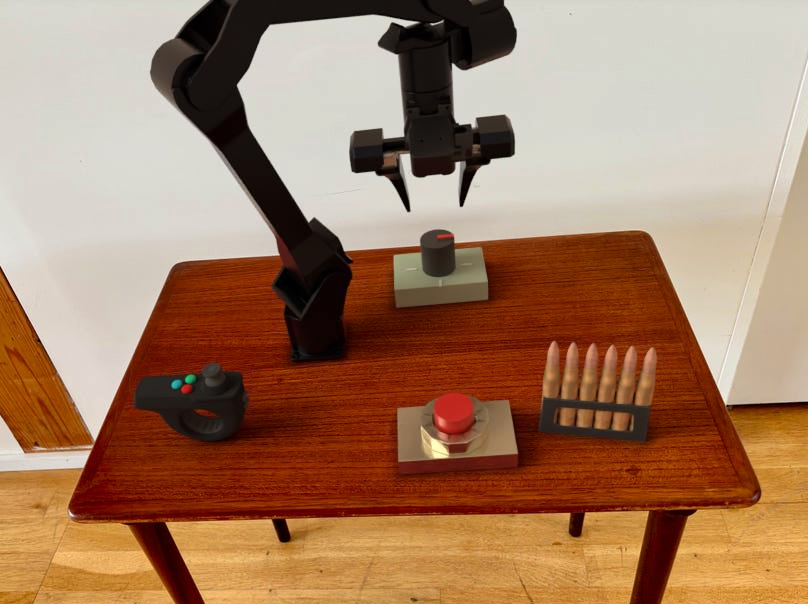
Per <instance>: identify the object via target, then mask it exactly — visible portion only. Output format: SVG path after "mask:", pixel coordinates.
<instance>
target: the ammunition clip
mask: <svg viewBox="0 0 808 604" xmlns="http://www.w3.org/2000/svg"><path fill="white" fill-rule="evenodd" d="M559 349H560V348H559V346H558V343H557V341H556V340H553V341H552V342H551V343H550V345H549V348H548V351H547V355H546V362H545V369H544V371H543V378H542V391H541V392H542V394H541V405H540V406H541V407H540V415H539V423H538V432H541V433H548V434H560V435H568V436H569V435H571V436H581V437H590V438H600V439H601V438H602V439H611V440H612V439H613V440H621V441H623V440H624V441H631V442H632V441H633V442H646V441H647V438H648V437H647V436H648V431H649V423H650V416H651V415H650V414H651V408H652V407H651V406H652V401H653V398H654V397H653V396H654V392H655V386H656V369H657V365H658V364H657V360H658V356H657V351H656V349H655V347H654V346H652V347H650V348H649V349H648V351H647V353H646V355H645V357H644V359H643V364H642V368H641V370H640V373H639V376H638V378H637V376H636V374H637V363H638V354H637V350H636V347H635V346H634V345H631V346H630V347H629V349H627V352H626V354H625V356H624V360H623V362H622V363H623V364H622V367H621V368H622V369H621V370H620V371H621V373H620V374H619V377H618V376H617V372H618V367H617V366H618V351H617V348H616V345H615V344H611V345H610V347H608V350H607V351H606V354H605V357H604V361H603V365H602V370H601V373H600V376H599V373H598V370H599V366H598V364H599V353H598V348H597V345H596V343H594V342H593V343H591V344H590V346H589V347H588V350H587V352H586V356H585V360H584V365H583V370H582V373H581V375H580V373H579V361H580V359H579V350H578V346H577V343H576V342H575V341H573V342H572V343H571V344H570V345H569V347H568V350H567V353H566V356H565V362H564V368H563V372H562V375H561V371H560V350H559ZM579 381H580V382H579Z"/></svg>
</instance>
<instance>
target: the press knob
mask: <svg viewBox="0 0 808 604" xmlns="http://www.w3.org/2000/svg"><path fill="white" fill-rule="evenodd" d="M442 395H443V396H442ZM442 395H440V396H441V397H440V396H438V397H439V398H438V397H437V398H438V399H437V400H436V402H435V404H434V416H435V424H436V426H437V427H438V429H439V430H441V431H442V432H444V433H446V434H451V435H457V434H462V433H464V432H466V431H468V430H469V429H470V428H471V427H472V425H473V423H474V405H473V402H472V400H471V399H470V398H469V397H467V396H468V395H467V394H464V393H460V392H448V393H445V394H442ZM466 395H467V396H466Z"/></svg>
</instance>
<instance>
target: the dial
mask: <svg viewBox="0 0 808 604" xmlns="http://www.w3.org/2000/svg"><path fill="white" fill-rule="evenodd" d="M419 245H420V253H421V258H422V269H423V271H424V273H425V274H427V275H429V276H432V277H443V276H446V275H449V274H451V273H452V272H453V271H454V270H455V268H456V261H455V249H456V243H455V234H454V233H453V232H451V231H449V230H447V229H441V228H439V229H431V230H427V231H426V232H424V233H422V235H421V236H420V239H419Z"/></svg>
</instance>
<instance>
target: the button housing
mask: <svg viewBox="0 0 808 604" xmlns="http://www.w3.org/2000/svg"><path fill="white" fill-rule="evenodd" d="M443 395H444V394H442V395H440V396H438V397H436V398H434V399H432V400H430V401H429V402H427V404H426V405H419V406H404V407H397V408H396V418H397V419H396V423H397V464H398V470H399V475H401V476H403V475H417V474H433V473H434V474H435V473H447V472H449V473H450V472H462V471H480V470H494V469H495V470H496V469H508V468H509V469H511V468H518V466H519V450H518V449H519V448H518V444H517V438H516V434H515V428H514V422H513V417H512V410H511V406H510V401H509V399H500V400H488V401H480V400H479V399H478V398H476V397H473V396H471V395H467V394H465V395H466V396H467V397H469V398H470V399H471V400H472V402H473V405H474V423H473V425H472V427H471V428H470V429H469V430H468V431H466V432H464V433H462V434H457V435H451V434H446V433H444V432H442V431H441V430H439V429H438V427H437V426H436V424H435V416H434V404H435V402H436V400H437V399H438V398H439V397H441V396H443Z"/></svg>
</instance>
